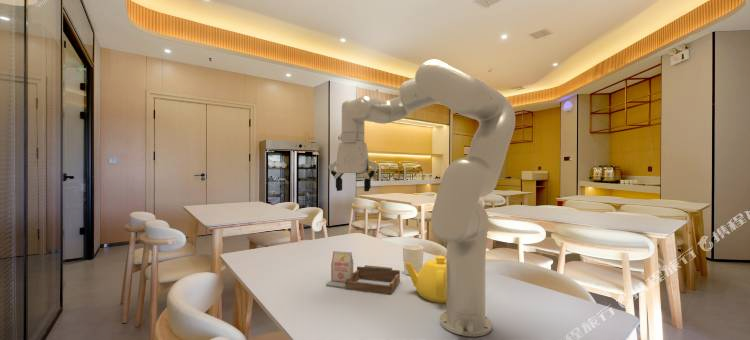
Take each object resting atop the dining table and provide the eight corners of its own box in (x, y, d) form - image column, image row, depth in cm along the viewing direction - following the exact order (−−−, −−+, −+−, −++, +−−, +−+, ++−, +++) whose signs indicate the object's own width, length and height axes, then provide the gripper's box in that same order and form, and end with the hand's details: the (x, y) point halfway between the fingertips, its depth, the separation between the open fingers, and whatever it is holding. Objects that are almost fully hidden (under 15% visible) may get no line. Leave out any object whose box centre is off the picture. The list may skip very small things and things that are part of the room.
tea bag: (335, 277, 113) (335, 249, 113) (353, 279, 111) (353, 251, 111) (331, 281, 110) (331, 252, 110) (349, 283, 108) (349, 253, 108)
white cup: (424, 276, 116) (424, 249, 116) (403, 276, 116) (403, 249, 116) (422, 269, 124) (422, 244, 124) (402, 269, 124) (402, 244, 124)
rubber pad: (345, 288, 104) (345, 286, 104) (325, 286, 106) (325, 284, 106) (356, 277, 115) (356, 276, 115) (339, 275, 117) (339, 274, 117)
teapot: (440, 311, 88) (440, 267, 88) (402, 291, 102) (402, 254, 102) (479, 297, 97) (479, 258, 97) (439, 281, 111) (439, 247, 111)
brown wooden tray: (391, 294, 99) (391, 280, 99) (345, 289, 104) (345, 275, 104) (399, 281, 111) (399, 268, 111) (358, 277, 115) (358, 264, 116)
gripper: (324, 138, 103) (324, 191, 103) (374, 137, 98) (374, 192, 98) (333, 140, 110) (333, 189, 110) (381, 139, 105) (381, 190, 105)
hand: (352, 190), depth 104 cm, fingers open, 9 cm apart
